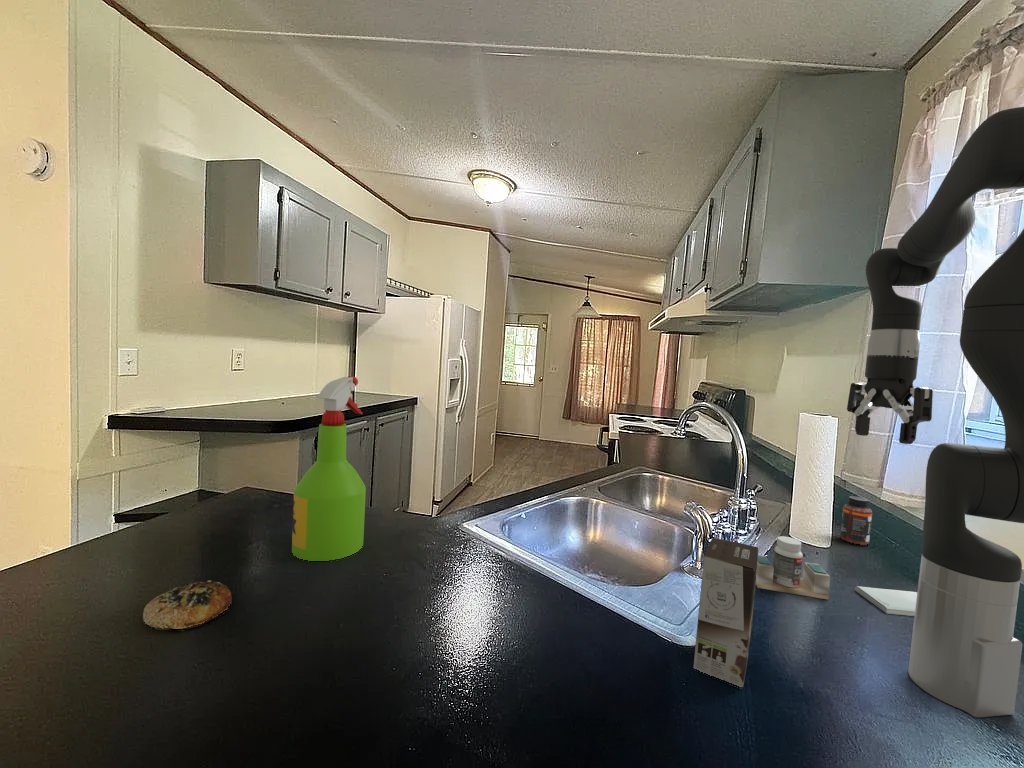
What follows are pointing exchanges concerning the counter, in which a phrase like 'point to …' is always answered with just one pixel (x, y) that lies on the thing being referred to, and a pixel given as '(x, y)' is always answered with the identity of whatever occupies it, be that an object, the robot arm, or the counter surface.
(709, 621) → the coffee box
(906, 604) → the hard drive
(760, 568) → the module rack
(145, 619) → the bread roll
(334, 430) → the spray bottle
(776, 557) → the pill bottle
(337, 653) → the counter surface
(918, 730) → the counter surface
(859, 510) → the supplement bottle
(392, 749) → the counter surface
